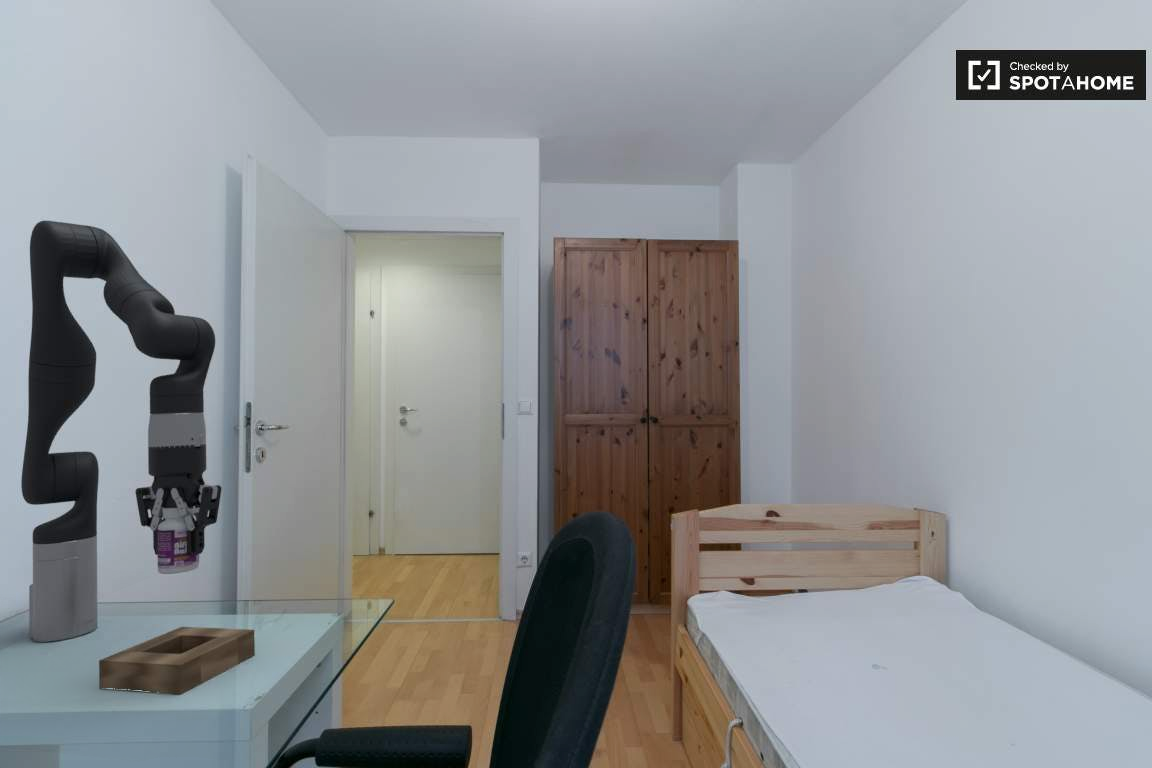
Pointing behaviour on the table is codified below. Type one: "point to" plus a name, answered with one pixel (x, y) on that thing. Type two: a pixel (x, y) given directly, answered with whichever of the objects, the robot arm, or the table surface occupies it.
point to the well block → (177, 660)
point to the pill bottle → (174, 544)
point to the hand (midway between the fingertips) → (179, 553)
